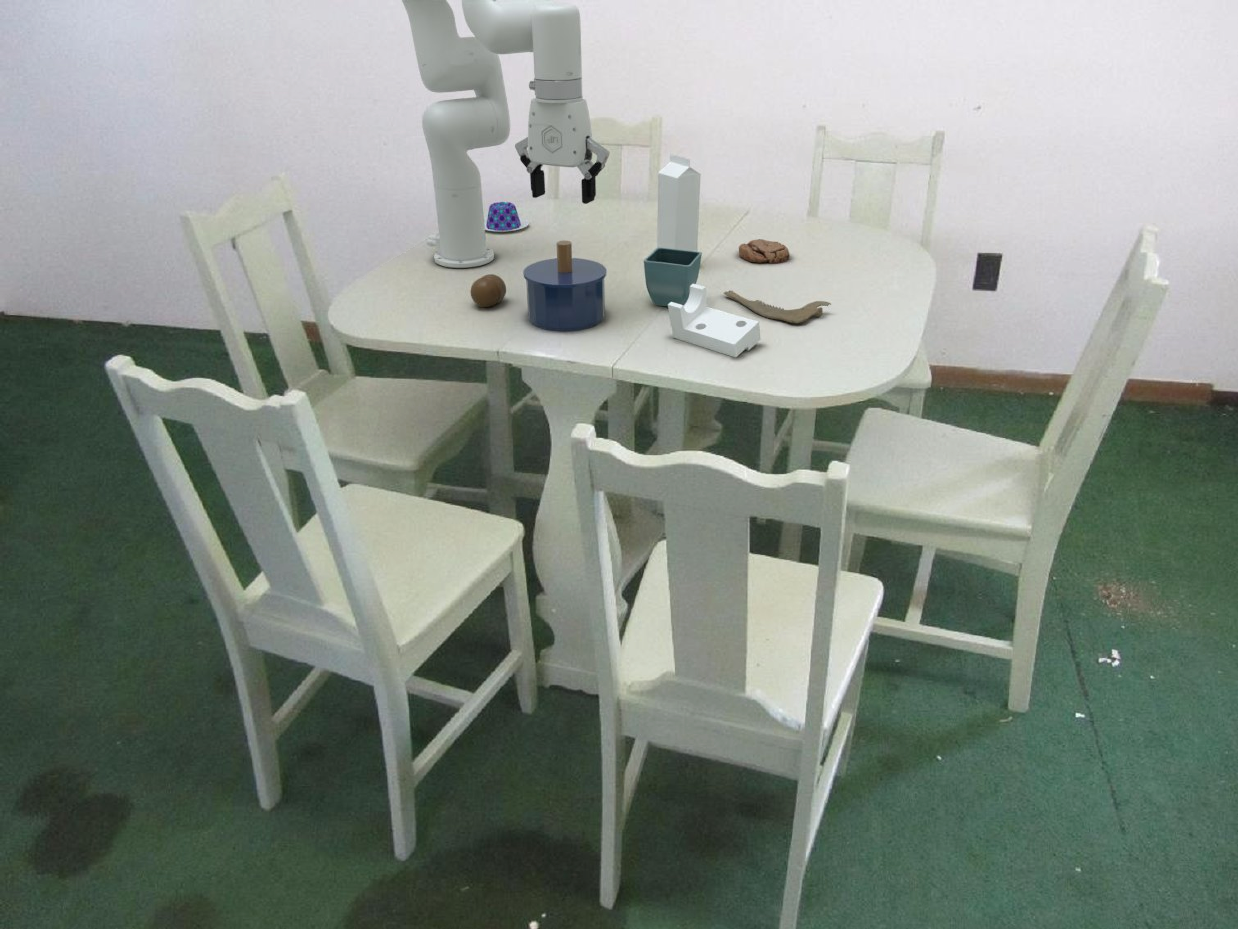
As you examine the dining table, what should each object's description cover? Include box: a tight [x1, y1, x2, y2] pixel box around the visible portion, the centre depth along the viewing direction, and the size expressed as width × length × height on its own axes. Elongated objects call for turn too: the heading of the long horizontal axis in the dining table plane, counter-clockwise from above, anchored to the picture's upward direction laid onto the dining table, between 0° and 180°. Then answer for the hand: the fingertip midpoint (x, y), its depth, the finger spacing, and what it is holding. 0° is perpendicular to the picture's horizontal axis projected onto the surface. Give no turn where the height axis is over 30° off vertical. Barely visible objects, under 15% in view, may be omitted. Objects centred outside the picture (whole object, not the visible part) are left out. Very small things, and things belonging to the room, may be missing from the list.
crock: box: [525, 278, 606, 332], centre depth 161 cm, size 14×14×8 cm
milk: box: [656, 153, 702, 252], centre depth 182 cm, size 6×6×22 cm
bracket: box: [667, 283, 762, 358], centre depth 151 cm, size 13×7×8 cm, turn 49°
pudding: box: [484, 201, 530, 233], centre depth 211 cm, size 12×12×5 cm
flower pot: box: [643, 247, 703, 307], centre depth 167 cm, size 9×9×9 cm
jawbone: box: [723, 290, 832, 324], centre depth 165 cm, size 9×20×2 cm, turn 63°
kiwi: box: [470, 273, 507, 308], centre depth 168 cm, size 8×5×5 cm
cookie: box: [738, 238, 790, 264], centre depth 192 cm, size 10×11×3 cm
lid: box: [523, 240, 608, 288], centre depth 158 cm, size 15×15×6 cm
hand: (563, 198), depth 153 cm, fingers open, 9 cm apart
